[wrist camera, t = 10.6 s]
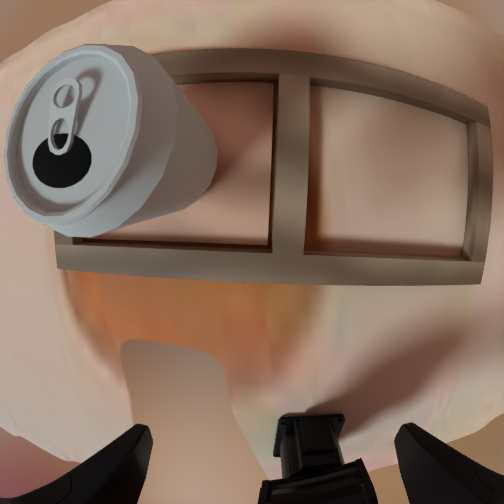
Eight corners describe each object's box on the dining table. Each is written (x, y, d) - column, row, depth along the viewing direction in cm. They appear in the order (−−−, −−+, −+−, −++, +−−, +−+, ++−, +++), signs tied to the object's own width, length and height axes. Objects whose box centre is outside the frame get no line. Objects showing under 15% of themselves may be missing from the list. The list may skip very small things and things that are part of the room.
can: (112, 204, 19) (-16, 227, 7) (131, 106, 17) (23, 45, 5) (208, 222, 19) (134, 271, 7) (230, 116, 17) (192, 16, 6)
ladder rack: (470, 279, 20) (480, 284, 18) (67, 263, 20) (57, 268, 19) (478, 110, 16) (487, 107, 15) (75, 81, 17) (66, 76, 15)
